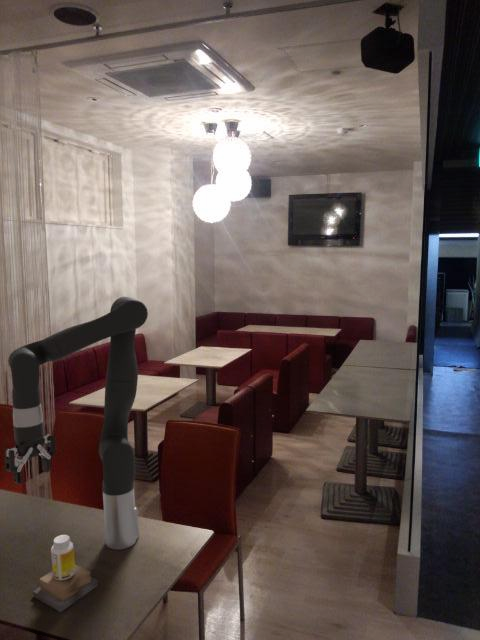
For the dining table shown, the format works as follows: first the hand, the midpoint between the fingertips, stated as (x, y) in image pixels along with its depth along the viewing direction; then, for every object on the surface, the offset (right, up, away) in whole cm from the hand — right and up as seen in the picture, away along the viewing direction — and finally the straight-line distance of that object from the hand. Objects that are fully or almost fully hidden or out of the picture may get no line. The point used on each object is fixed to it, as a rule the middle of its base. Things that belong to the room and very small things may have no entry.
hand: (32, 477), depth 141 cm
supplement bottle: (+11, -24, -7) cm, 27 cm away
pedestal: (+12, -28, -7) cm, 31 cm away
